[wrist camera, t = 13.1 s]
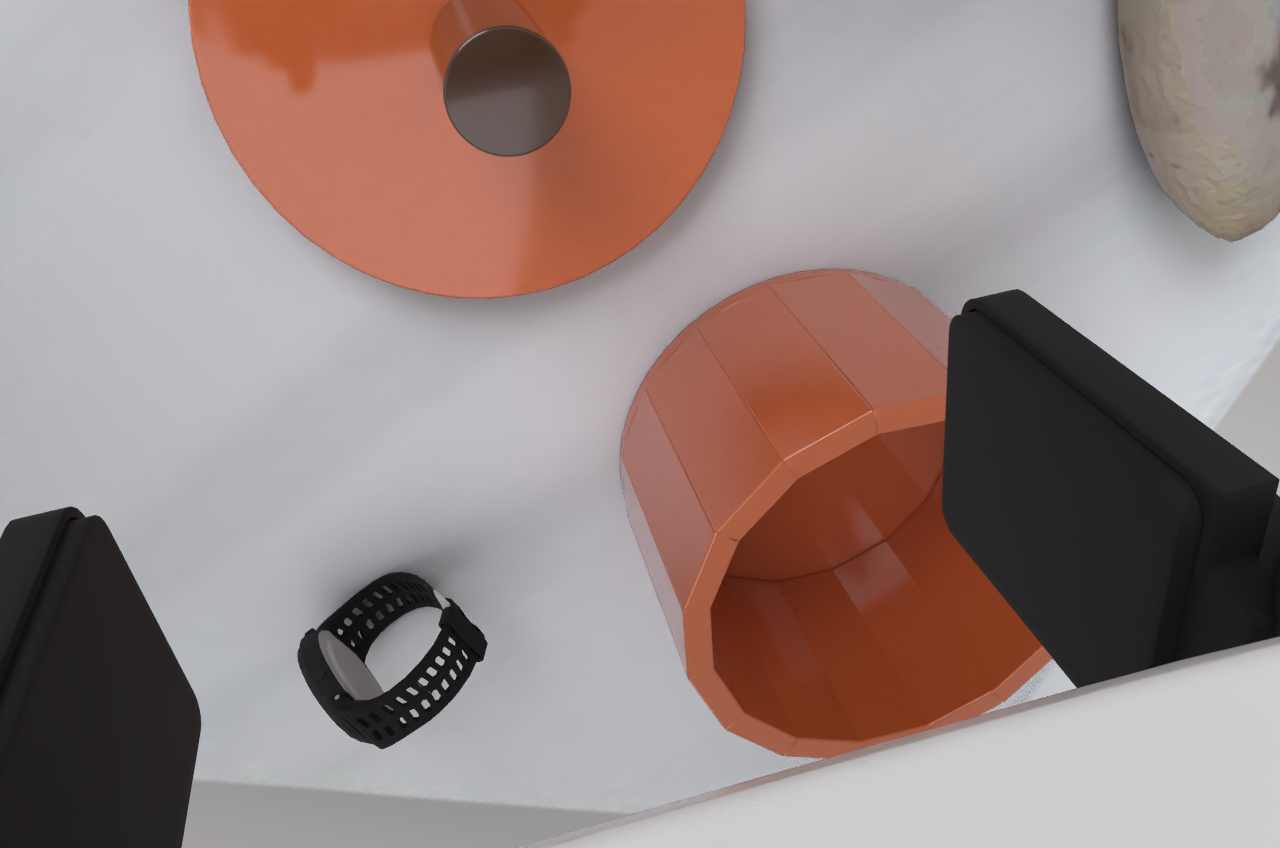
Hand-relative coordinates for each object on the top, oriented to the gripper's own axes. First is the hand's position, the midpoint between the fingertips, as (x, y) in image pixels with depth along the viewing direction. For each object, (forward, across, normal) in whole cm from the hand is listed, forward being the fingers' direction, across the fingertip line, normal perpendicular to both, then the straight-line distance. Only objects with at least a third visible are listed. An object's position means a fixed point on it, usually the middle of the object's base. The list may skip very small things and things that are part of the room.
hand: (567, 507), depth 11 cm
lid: (+15, -1, -2) cm, 16 cm away
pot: (+16, -8, +11) cm, 21 cm away
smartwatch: (+16, +5, +14) cm, 22 cm away
